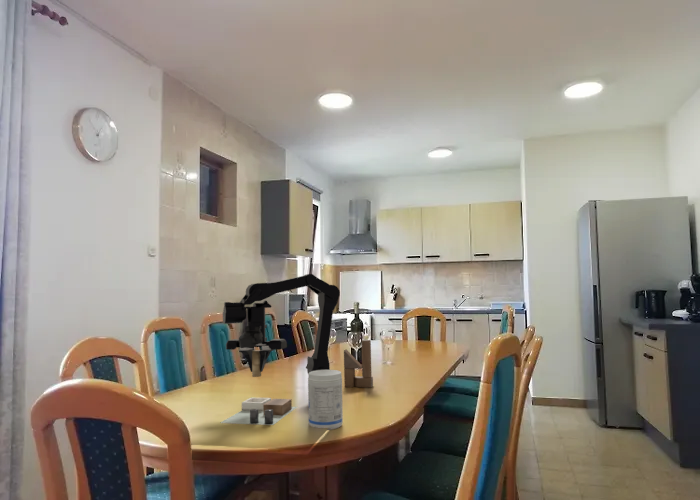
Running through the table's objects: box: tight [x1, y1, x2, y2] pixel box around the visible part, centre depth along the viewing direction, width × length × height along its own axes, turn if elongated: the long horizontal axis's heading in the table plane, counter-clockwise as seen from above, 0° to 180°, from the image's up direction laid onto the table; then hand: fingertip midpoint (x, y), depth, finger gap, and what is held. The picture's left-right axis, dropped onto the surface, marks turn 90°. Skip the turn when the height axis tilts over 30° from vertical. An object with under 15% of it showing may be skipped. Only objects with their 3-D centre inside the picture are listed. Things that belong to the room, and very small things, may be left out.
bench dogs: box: [250, 409, 273, 425], centre depth 134 cm, size 7×2×4 cm, turn 77°
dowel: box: [251, 349, 262, 378], centre depth 152 cm, size 3×3×8 cm
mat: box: [220, 406, 298, 426], centre depth 143 cm, size 16×21×1 cm
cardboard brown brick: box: [264, 398, 293, 416], centre depth 146 cm, size 6×8×3 cm
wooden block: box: [343, 339, 374, 389], centre depth 187 cm, size 4×11×18 cm, turn 75°
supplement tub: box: [307, 369, 344, 431], centre depth 133 cm, size 10×10×15 cm
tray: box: [241, 397, 272, 411], centre depth 151 cm, size 7×7×2 cm
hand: (256, 371), depth 152 cm, fingers closed on dowel, 3 cm apart
